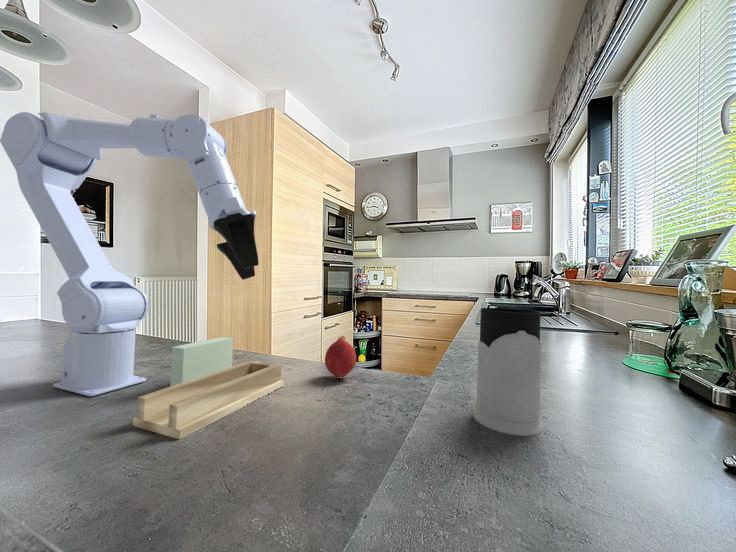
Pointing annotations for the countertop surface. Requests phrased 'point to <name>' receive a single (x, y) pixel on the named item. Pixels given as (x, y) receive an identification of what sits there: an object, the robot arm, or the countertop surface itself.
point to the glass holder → (509, 371)
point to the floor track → (205, 398)
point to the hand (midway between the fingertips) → (250, 272)
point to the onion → (340, 358)
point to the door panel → (200, 359)
